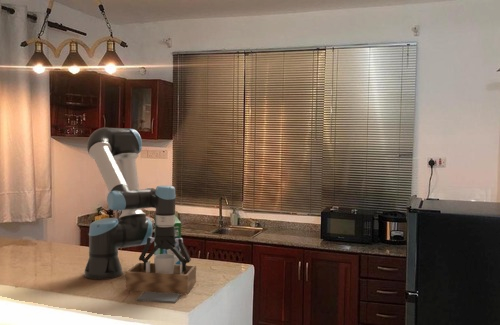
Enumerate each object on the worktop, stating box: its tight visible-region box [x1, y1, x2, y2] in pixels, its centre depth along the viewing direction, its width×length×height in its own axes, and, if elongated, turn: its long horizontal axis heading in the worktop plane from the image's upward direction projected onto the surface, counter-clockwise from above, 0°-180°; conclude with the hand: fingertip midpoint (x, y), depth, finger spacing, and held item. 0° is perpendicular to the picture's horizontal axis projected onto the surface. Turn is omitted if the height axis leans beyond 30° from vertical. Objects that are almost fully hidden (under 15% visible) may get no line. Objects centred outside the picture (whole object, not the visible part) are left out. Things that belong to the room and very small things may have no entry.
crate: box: [125, 262, 197, 295], centre depth 174 cm, size 24×14×7 cm, turn 84°
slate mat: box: [136, 291, 182, 304], centre depth 161 cm, size 14×8×1 cm, turn 84°
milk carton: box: [153, 214, 182, 265], centre depth 191 cm, size 9×9×25 cm
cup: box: [155, 254, 175, 274], centre depth 174 cm, size 8×8×12 cm
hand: (164, 279), depth 174 cm, fingers open, 13 cm apart
